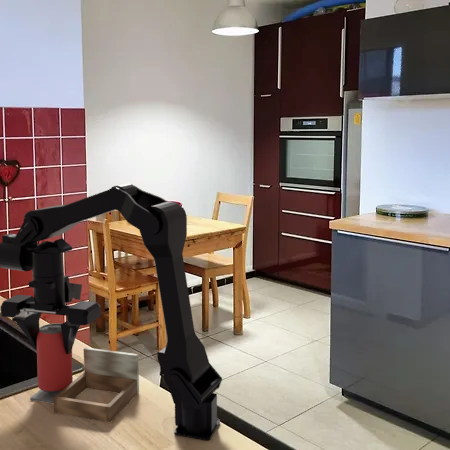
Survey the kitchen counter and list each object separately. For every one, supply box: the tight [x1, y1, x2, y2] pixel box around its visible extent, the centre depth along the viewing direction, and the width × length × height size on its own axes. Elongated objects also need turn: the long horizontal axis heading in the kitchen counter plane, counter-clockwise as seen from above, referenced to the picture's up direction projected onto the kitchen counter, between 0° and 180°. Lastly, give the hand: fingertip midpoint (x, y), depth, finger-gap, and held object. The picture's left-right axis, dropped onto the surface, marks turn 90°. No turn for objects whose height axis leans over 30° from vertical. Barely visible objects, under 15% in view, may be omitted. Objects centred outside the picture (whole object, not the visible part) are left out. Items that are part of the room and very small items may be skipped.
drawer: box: [52, 347, 140, 424], centre depth 110 cm, size 12×12×8 cm
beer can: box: [36, 322, 74, 392], centre depth 113 cm, size 7×7×12 cm
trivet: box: [29, 389, 61, 404], centre depth 114 cm, size 6×7×1 cm
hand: (53, 351), depth 112 cm, fingers closed on beer can, 6 cm apart
